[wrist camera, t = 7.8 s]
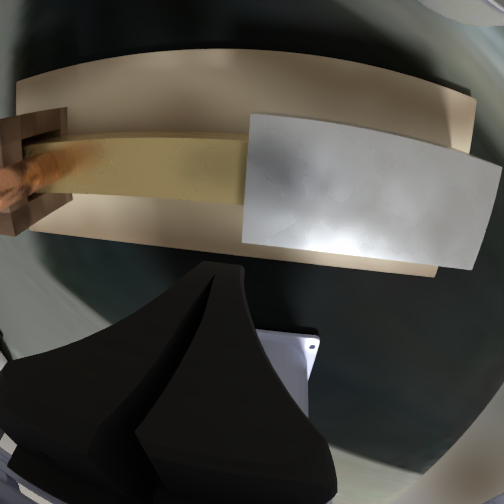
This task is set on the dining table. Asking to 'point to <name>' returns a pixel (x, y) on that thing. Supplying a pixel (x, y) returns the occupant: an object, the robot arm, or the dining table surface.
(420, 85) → the birch board
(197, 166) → the gold square bar
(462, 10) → the teacup
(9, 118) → the walnut socket
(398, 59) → the dining table surface
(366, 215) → the steel block
